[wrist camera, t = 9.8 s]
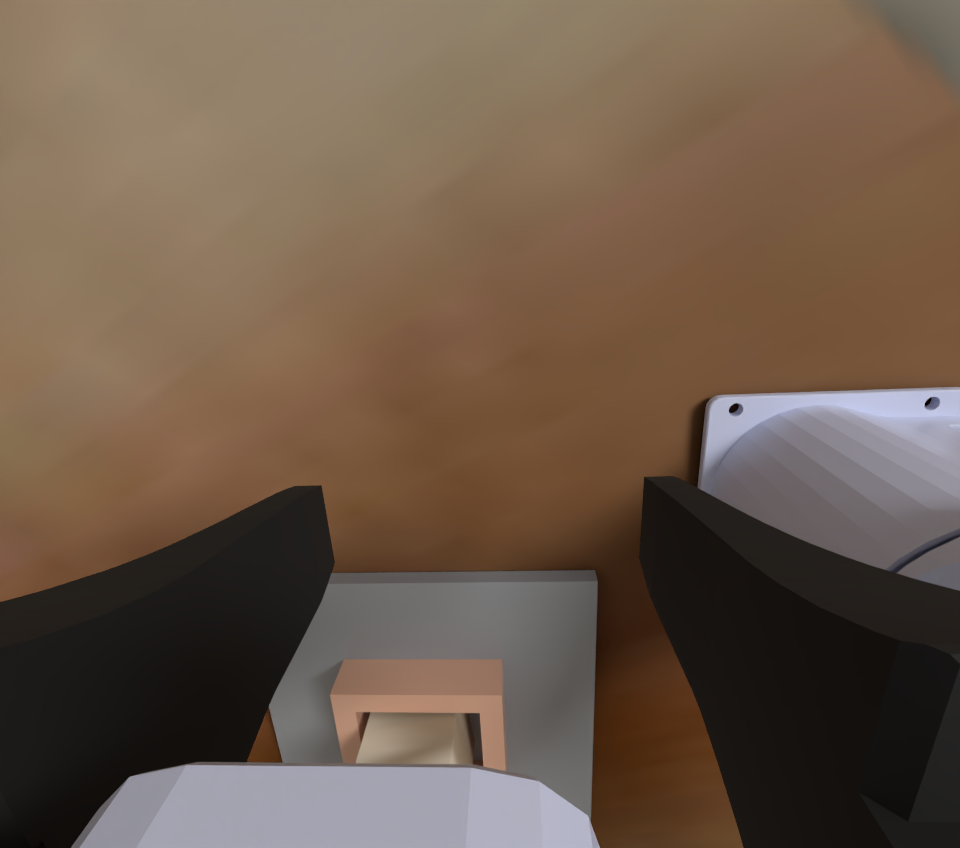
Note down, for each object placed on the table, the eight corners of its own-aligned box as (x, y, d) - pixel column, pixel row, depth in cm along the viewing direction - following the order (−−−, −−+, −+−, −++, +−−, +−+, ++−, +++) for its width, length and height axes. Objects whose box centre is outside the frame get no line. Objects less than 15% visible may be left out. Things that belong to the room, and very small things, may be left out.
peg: (459, 677, 24) (441, 842, 17) (474, 739, 25) (462, 914, 19) (378, 685, 24) (330, 848, 18) (397, 745, 26) (358, 918, 19)
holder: (594, 570, 23) (606, 613, 20) (588, 817, 28) (596, 877, 25) (247, 574, 24) (214, 615, 21) (304, 811, 29) (283, 867, 26)
